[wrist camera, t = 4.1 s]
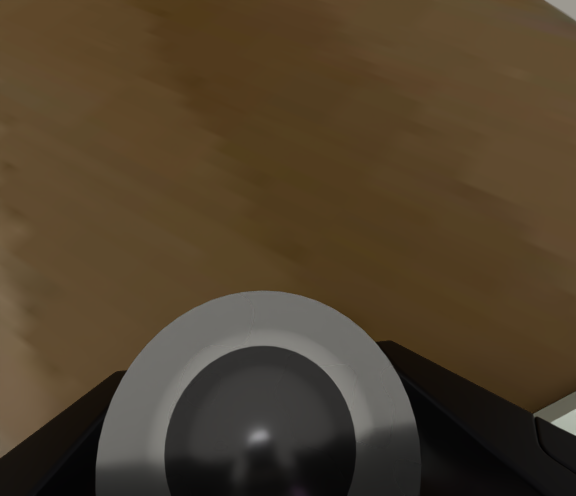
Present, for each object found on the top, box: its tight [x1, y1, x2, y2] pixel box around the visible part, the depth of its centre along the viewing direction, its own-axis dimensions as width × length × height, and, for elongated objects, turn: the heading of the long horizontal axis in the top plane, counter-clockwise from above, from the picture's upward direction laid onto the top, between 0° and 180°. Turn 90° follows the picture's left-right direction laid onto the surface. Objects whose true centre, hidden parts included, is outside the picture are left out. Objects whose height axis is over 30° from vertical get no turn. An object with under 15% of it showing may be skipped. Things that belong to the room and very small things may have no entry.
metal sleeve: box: [95, 291, 421, 496], centre depth 10 cm, size 5×5×10 cm
